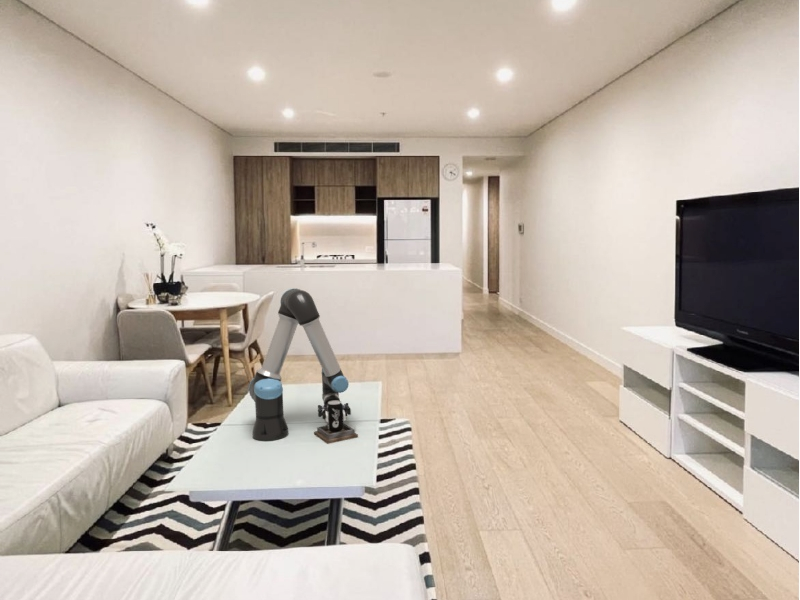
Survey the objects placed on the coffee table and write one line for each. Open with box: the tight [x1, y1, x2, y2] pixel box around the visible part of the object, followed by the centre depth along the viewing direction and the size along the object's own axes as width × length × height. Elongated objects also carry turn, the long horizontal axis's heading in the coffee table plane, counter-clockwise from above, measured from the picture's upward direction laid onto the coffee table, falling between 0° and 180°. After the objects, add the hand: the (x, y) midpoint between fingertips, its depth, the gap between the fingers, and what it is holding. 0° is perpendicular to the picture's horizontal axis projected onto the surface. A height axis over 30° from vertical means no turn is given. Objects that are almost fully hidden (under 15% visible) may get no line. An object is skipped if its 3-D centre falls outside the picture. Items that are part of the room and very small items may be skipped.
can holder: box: [313, 422, 359, 445], centre depth 243 cm, size 14×14×3 cm
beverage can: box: [327, 400, 344, 432], centre depth 242 cm, size 7×7×12 cm
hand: (335, 418), depth 237 cm, fingers closed on beverage can, 6 cm apart
